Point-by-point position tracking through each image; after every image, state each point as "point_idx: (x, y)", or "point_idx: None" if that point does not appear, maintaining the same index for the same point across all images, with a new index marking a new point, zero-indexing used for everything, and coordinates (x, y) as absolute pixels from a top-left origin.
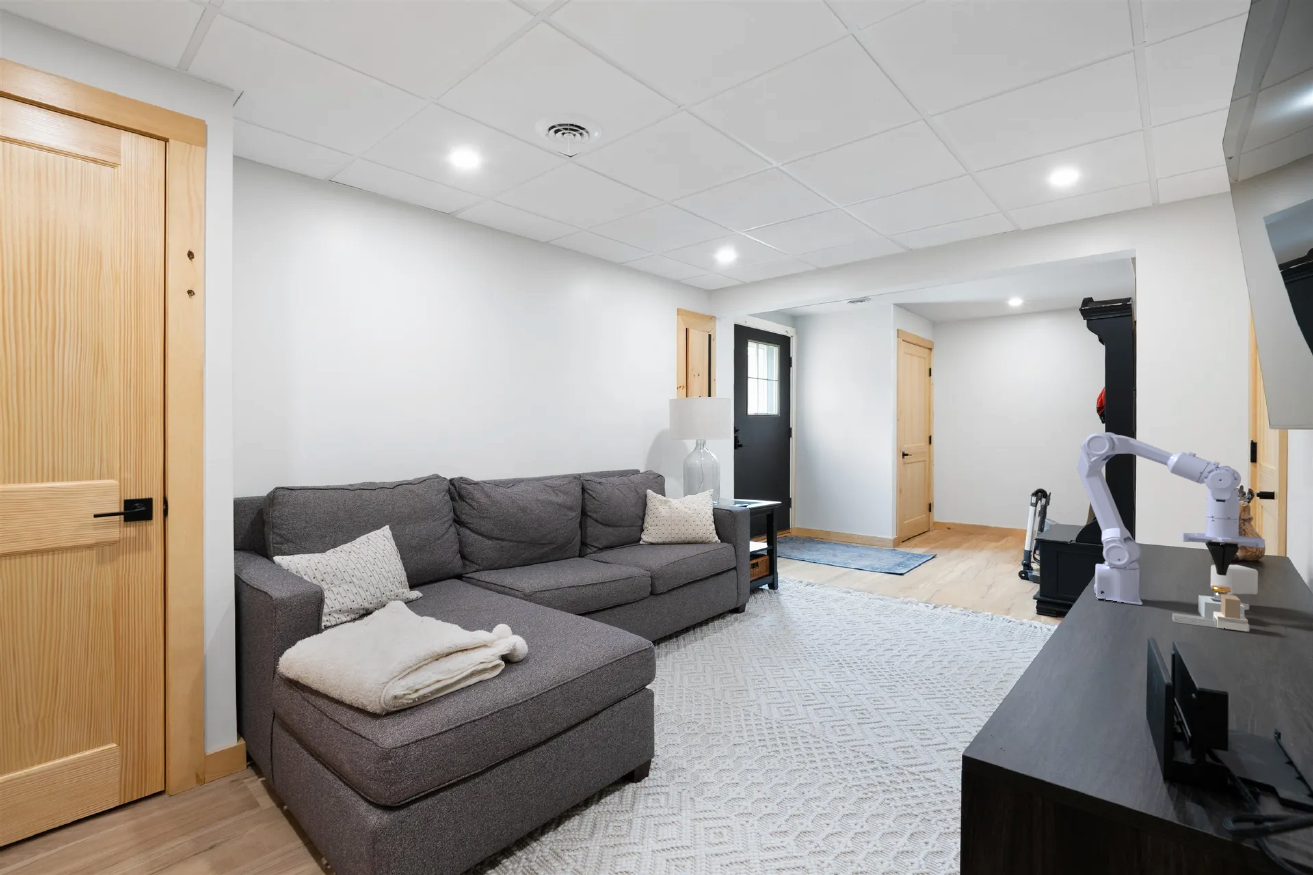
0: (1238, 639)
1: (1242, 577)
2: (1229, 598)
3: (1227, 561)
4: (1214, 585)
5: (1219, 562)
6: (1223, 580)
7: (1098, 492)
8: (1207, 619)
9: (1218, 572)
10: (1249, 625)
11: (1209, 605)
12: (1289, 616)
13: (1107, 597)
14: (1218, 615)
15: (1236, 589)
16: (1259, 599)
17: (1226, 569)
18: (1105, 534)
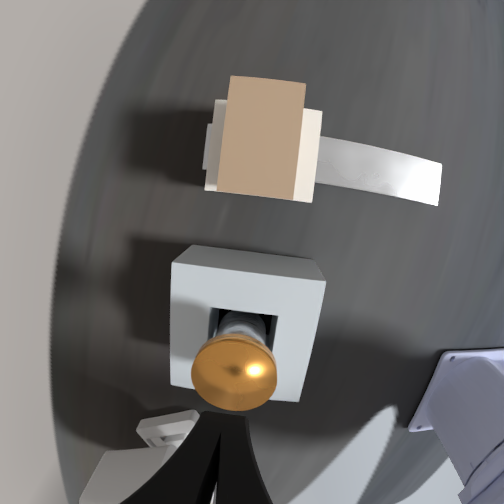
0: (285, 20)
1: (123, 489)
2: (280, 97)
3: (170, 491)
4: (253, 407)
5: (241, 489)
6: None
7: None
8: (344, 147)
9: (248, 428)
10: (208, 124)
11: (305, 275)
12: (68, 379)
13: (501, 361)
14: (314, 130)
15: (153, 457)
16: None
17: (193, 437)
18: None
